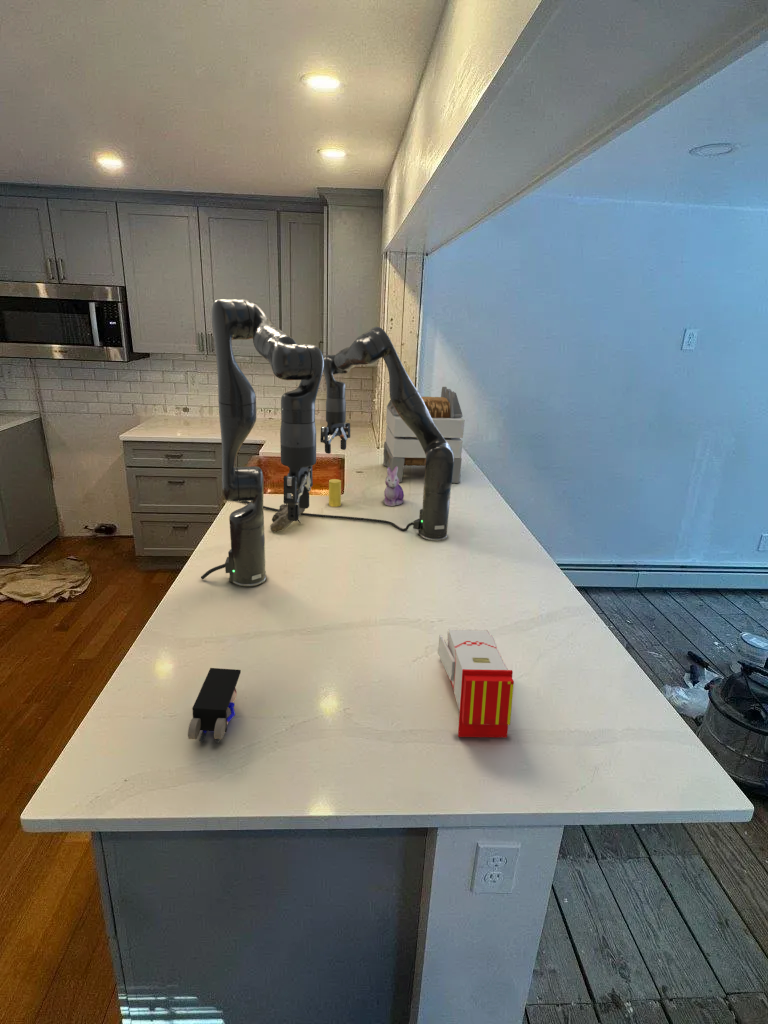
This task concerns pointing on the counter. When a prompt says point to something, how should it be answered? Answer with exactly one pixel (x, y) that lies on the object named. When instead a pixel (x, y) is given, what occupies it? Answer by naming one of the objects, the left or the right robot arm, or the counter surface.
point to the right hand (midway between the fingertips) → (335, 451)
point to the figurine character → (214, 704)
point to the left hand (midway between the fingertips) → (299, 513)
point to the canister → (334, 492)
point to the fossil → (283, 518)
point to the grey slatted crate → (406, 445)
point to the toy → (478, 682)
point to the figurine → (393, 488)
